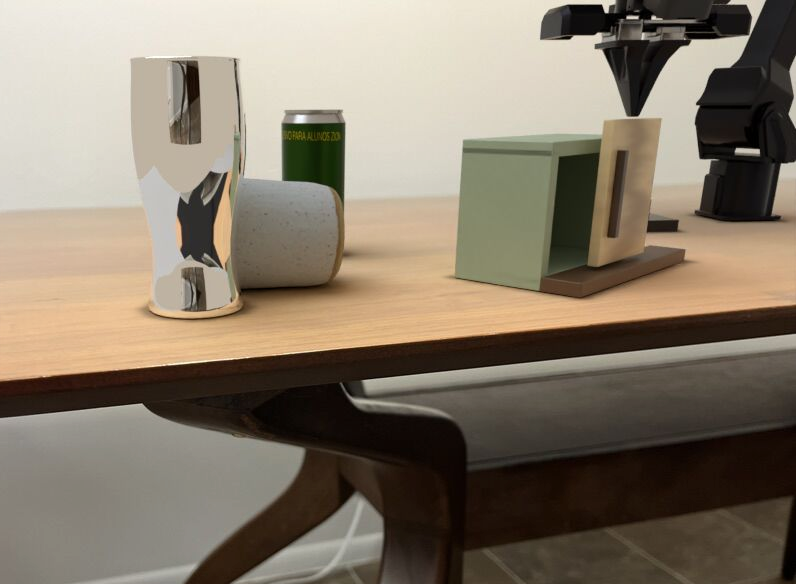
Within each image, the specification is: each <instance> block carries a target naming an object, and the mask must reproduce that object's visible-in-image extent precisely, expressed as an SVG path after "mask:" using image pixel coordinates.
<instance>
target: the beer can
mask: <svg viewBox="0 0 796 584" xmlns="http://www.w3.org/2000/svg"><path fill="white" fill-rule="evenodd" d="M343 113H344V109H284V110H283V114H284V116H283V118H282V120H281V125H280V127H281V128H280V129H281V134H280V135H281V136H280V137H281V138H280V139H281V181H293V182H310V183H316V184H321V185H325V186H328V187H331V188H333V189H334V190H335V191H336V192H337V194H338V195H339V197H340V199H341V202H342V206H343V212H344V213H345V192H346V191H345V189H346V188H345V185H346V182H345V181H346V131H347V130H346V129H347V127H346V125H347V124H346V123H347V122H346V120H345V118H344V116H343Z"/></svg>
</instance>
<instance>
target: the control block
mask: <svg viewBox="0 0 796 584" xmlns="http://www.w3.org/2000/svg"><path fill="white" fill-rule="evenodd" d="M651 206H652V201H651V202H650V209H649V216H648V224H647V231H646V233H678V229H679V223H680V220H679V219H676V218H673V217H668V216H664V215H660V214H655V213H652V212H651Z"/></svg>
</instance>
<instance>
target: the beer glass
mask: <svg viewBox="0 0 796 584" xmlns="http://www.w3.org/2000/svg"><path fill="white" fill-rule="evenodd" d="M128 61H129V134H130V144H131V153H132V154H131V155H132V160H133V161H132V162H133V166H134V171H135V172H134V173H135V177H136V183H137V186H138V190H139V195H140V199H141V204H142V208H143V212H144V217H145V221H146V225H147V231H148V234H149V239H150V240H149V241H150V247H151V249H150V250H151V277H150V278H151V279H150V286H149V288H150V289H149V294H148V309H149V311H150V312H151V313H153V314H155V315H158V316H161V317H166V318H171V319H172V318H173V319H207V318H208V319H209V318H210V319H211V318H217V317H223V316H227V315H230V314H234V313H237V312H239V311H240V310H241V309H242V308H243V306H244V298H243V293H242V289H241V287H240V282H239V278H238V273H237V266H236V253H235V248H236V232H237V223H238V216H239V209H240V202H241V195H242V188H243V181H244V178H245V170H246V161H247V159H246V158H247V122H246V121H247V120H246V118H247V117H246V105H245V103H246V102H245V93H244V92H245V91H244V84H243V83H244V82H243V75H242V74H243V73H242V60H241V58H239V57H234V56H233V57H232V56H213V55H162V56H161V55H158V56H157V55H156V56H140V57H138V56H137V57H132V58H129V59H128Z"/></svg>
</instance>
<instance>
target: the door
mask: <svg viewBox="0 0 796 584" xmlns="http://www.w3.org/2000/svg"><path fill="white" fill-rule="evenodd" d="M662 121H663V118H662V117H645V118H644V117H641V118H618V119H617V118H616V119H603V125H602V133H601V135H602V141H601V150H600V159H599V167H598V176H597V185H596V194H595V202H594V211H593V220H592V229H591V238H590V246H589V255H588V264H587V266H593V267H599V266H602V265H606V264H609V263H612V262H615V261H619V260H622V259H625V258H628V257H631V256H635V255H638V254H641V253H644V247H646V246H645V245H646V238H647V232H646V231H647V224H648V216H649V209H650V210H651V207H650V202H651V203H652V193H653V186H654V179H655V171H656V165H657V158H658V157H657V156H658V150H659V143H660V142H659V141H660V135H661V129H662Z"/></svg>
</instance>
